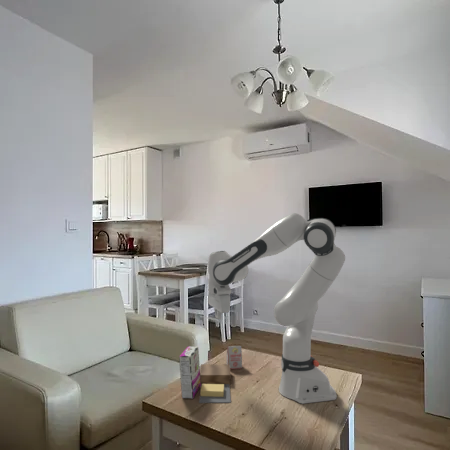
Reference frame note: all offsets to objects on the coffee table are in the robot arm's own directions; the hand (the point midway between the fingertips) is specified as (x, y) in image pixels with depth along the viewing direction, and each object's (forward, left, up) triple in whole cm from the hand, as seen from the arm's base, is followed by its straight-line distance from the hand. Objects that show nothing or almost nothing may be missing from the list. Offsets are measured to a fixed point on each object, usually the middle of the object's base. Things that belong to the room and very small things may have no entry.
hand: (218, 318), depth 144 cm
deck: (+1, +1, -26) cm, 26 cm away
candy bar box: (+11, +13, -26) cm, 31 cm away
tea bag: (-8, -11, -26) cm, 30 cm away
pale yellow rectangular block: (+2, +14, -24) cm, 27 cm away
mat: (+1, +14, -26) cm, 29 cm away
